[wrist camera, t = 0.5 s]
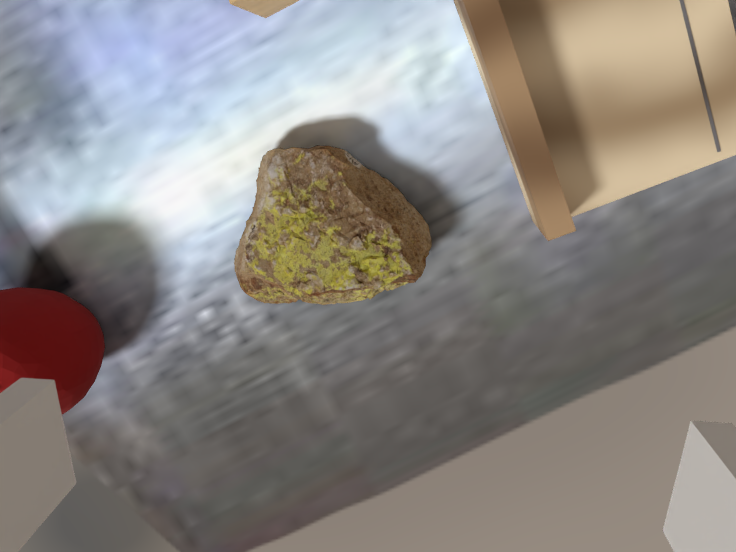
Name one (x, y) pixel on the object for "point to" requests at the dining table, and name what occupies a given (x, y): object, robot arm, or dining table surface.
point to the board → (604, 94)
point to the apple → (49, 342)
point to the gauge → (262, 6)
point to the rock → (327, 231)
